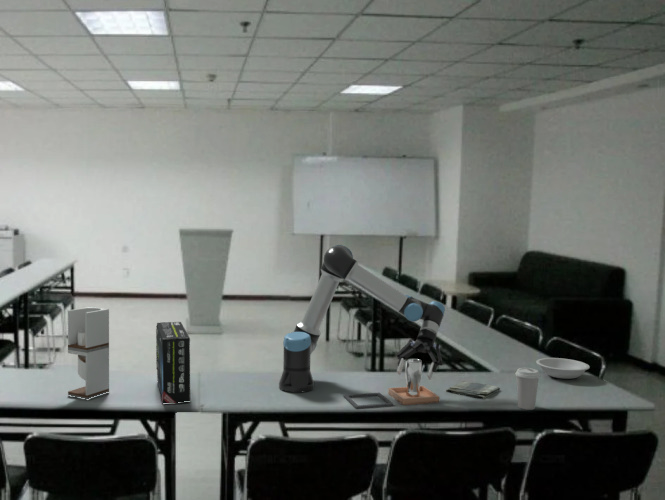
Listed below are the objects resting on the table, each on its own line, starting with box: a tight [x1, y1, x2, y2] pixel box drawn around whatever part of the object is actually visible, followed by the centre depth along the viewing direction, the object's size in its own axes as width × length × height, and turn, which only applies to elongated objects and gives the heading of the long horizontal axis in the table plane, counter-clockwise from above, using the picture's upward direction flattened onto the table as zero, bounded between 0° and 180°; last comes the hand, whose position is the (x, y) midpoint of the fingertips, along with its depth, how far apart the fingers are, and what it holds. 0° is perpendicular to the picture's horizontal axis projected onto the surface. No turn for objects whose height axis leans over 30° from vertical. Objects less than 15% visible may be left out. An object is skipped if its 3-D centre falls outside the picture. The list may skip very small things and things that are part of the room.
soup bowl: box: [535, 357, 591, 380], centre depth 301 cm, size 24×24×7 cm
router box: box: [155, 321, 191, 404], centre depth 263 cm, size 36×11×27 cm, turn 20°
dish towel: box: [445, 380, 501, 400], centre depth 274 cm, size 19×18×3 cm
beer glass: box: [404, 358, 423, 398], centre depth 262 cm, size 7×7×15 cm
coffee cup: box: [514, 367, 541, 411], centre depth 253 cm, size 10×10×15 cm
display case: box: [67, 306, 110, 399], centre depth 256 cm, size 11×11×35 cm
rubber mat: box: [342, 392, 395, 410], centre depth 256 cm, size 16×16×1 cm
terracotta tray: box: [387, 385, 440, 406], centre depth 262 cm, size 16×16×2 cm
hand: (413, 375), depth 260 cm, fingers open, 13 cm apart
